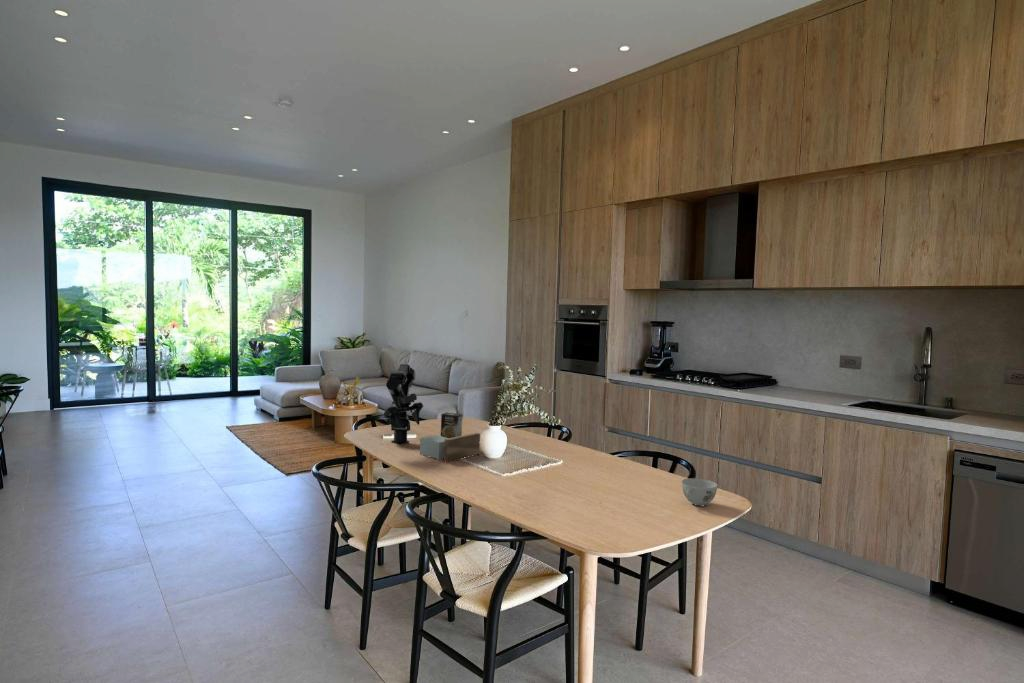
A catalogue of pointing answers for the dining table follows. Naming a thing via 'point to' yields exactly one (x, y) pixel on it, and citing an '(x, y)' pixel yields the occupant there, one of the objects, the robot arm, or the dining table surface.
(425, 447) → the grey block
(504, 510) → the dining table surface
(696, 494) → the teacup
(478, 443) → the walnut board
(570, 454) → the dining table surface
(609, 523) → the dining table surface
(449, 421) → the coffee box
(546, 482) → the dining table surface
